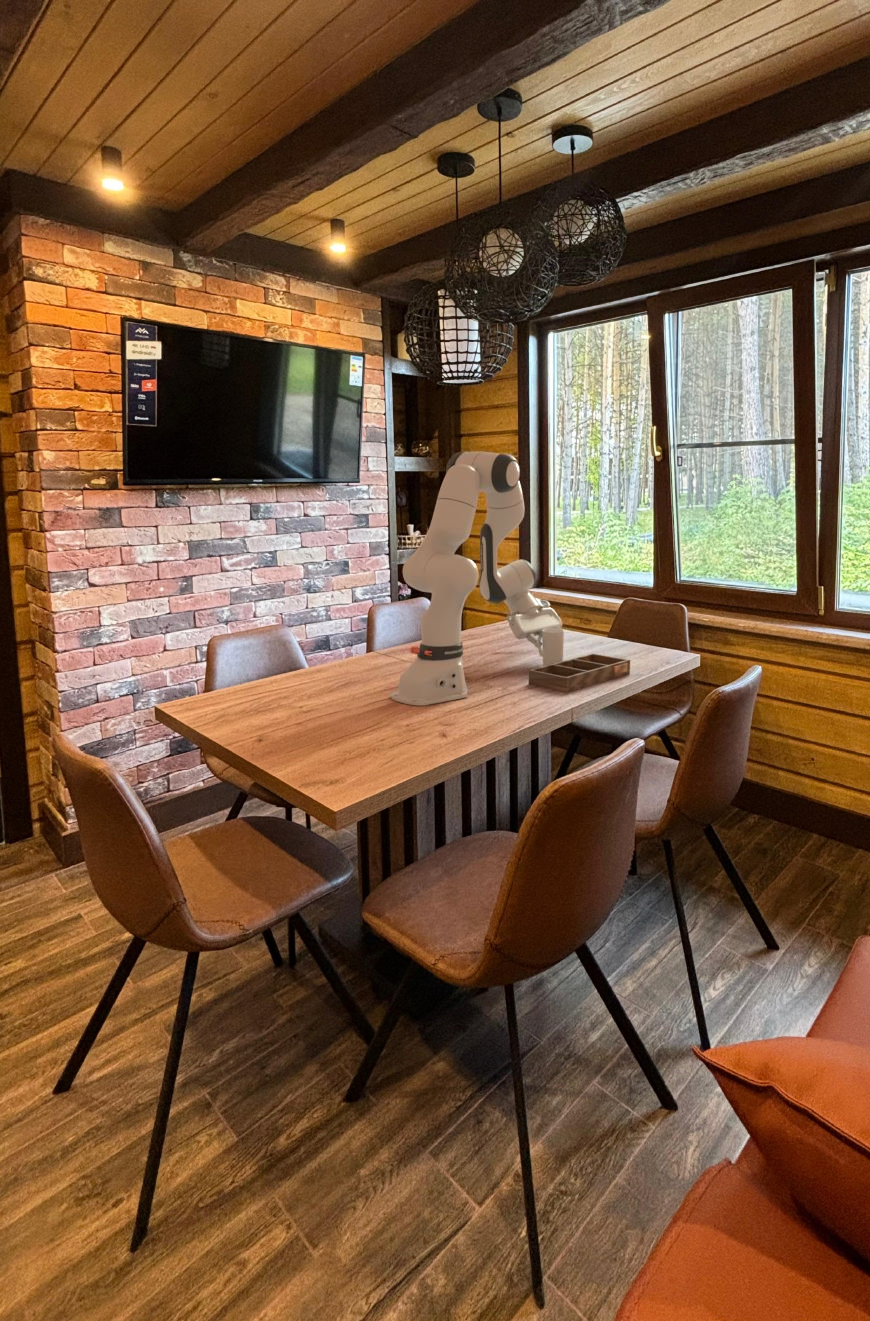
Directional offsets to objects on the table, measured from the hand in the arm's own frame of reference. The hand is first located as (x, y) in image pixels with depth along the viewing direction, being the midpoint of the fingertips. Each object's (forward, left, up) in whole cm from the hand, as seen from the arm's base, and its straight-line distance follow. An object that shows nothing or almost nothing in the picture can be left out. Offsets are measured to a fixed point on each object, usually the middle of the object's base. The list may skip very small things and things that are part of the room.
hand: (549, 643), depth 236 cm
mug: (0, 0, -8) cm, 8 cm away
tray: (-6, -17, -7) cm, 19 cm away
